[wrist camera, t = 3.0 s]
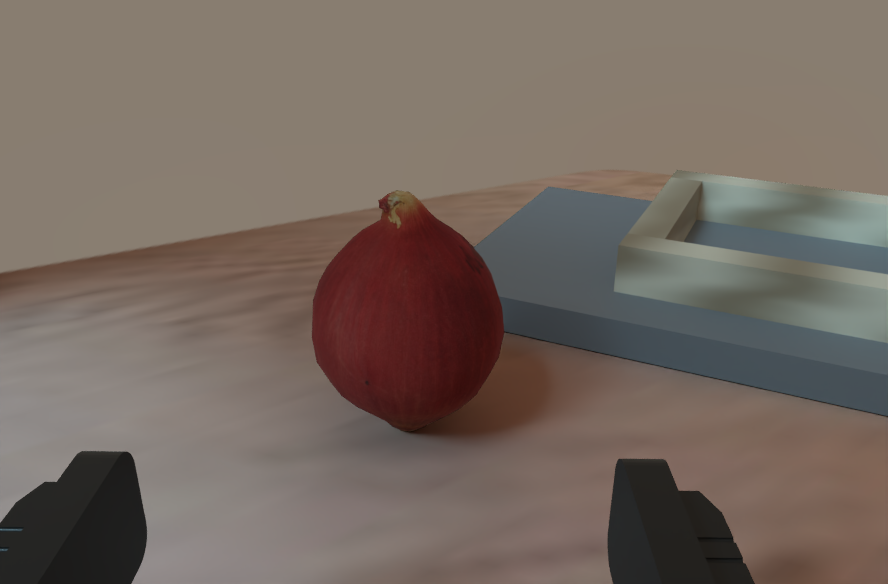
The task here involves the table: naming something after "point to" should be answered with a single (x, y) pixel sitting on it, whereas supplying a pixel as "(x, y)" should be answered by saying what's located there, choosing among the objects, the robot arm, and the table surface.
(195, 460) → the table surface
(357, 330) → the onion
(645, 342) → the build board
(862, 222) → the square frame
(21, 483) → the table surface
